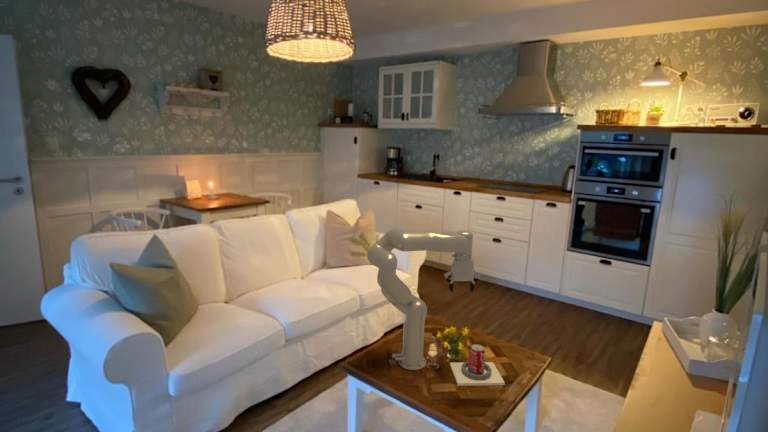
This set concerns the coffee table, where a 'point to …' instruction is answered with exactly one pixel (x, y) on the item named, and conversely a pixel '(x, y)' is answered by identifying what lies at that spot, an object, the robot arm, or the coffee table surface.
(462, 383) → the collar board
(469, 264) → the robot arm
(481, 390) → the coffee table surface
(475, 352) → the soda can
